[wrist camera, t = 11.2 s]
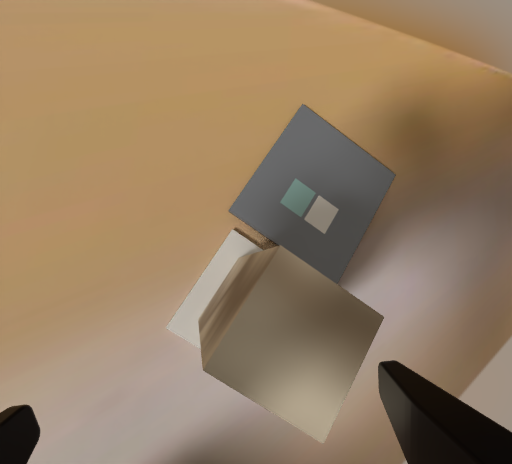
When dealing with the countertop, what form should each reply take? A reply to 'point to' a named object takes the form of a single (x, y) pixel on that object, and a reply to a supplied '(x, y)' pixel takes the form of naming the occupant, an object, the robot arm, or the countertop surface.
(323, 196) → the gray tile
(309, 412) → the birch block
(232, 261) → the pad
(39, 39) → the countertop surface
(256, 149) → the countertop surface
